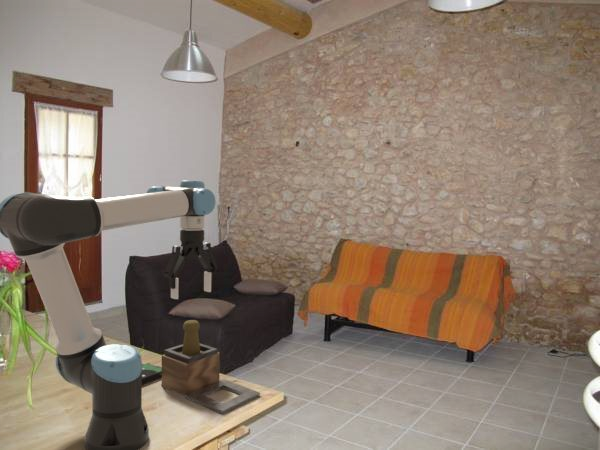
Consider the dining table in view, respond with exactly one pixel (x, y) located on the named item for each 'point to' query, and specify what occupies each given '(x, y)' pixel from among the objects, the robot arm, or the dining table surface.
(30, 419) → the dining table surface
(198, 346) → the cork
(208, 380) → the raised stand
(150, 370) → the disk drive
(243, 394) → the low frame
